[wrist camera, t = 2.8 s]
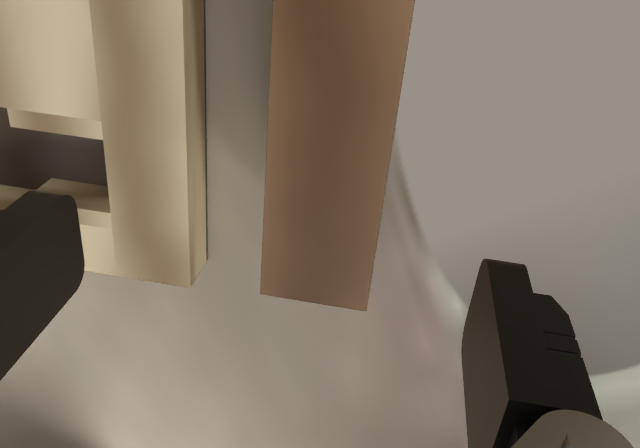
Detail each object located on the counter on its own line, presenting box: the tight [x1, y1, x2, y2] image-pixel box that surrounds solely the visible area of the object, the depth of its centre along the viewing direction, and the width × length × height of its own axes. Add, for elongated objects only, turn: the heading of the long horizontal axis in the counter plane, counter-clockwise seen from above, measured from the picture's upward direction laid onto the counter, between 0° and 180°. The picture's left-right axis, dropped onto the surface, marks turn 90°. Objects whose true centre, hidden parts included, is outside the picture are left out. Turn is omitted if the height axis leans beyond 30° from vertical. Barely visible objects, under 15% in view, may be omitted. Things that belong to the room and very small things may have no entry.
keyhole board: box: [0, 0, 208, 288], centre depth 24 cm, size 16×20×2 cm
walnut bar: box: [260, 0, 415, 311], centre depth 21 cm, size 4×14×6 cm, turn 175°
